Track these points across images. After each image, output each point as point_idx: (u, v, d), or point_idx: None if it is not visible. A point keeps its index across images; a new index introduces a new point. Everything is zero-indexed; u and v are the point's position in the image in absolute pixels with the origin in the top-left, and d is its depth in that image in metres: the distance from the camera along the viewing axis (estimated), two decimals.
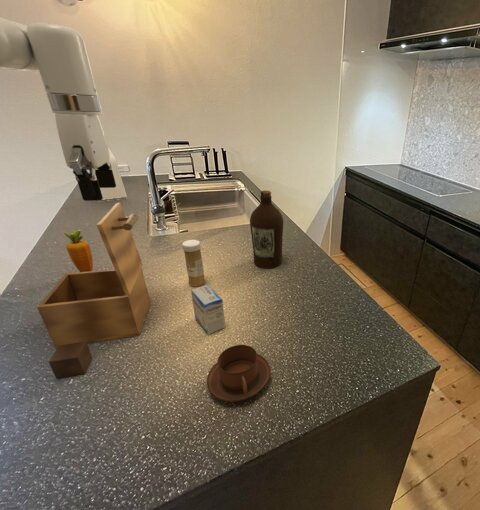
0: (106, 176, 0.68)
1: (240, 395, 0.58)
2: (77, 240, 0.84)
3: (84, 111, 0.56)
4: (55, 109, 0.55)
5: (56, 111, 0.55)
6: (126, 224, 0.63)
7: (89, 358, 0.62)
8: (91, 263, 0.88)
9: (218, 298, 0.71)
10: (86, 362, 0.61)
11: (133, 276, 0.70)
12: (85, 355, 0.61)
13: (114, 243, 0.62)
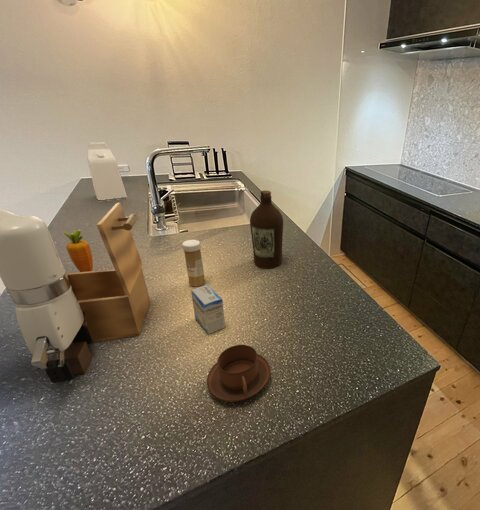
0: (81, 335, 0.63)
1: (240, 395, 0.58)
2: (77, 240, 0.84)
3: (48, 299, 0.51)
4: (16, 303, 0.50)
5: (17, 305, 0.50)
6: (126, 224, 0.63)
7: (89, 358, 0.62)
8: (91, 263, 0.88)
9: (218, 298, 0.71)
10: (86, 362, 0.61)
11: (133, 276, 0.70)
12: (85, 355, 0.61)
13: (114, 243, 0.62)
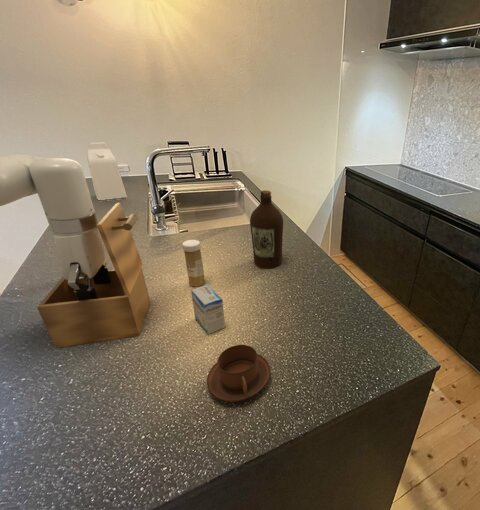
0: (101, 274, 0.72)
1: (240, 395, 0.58)
2: None
3: (81, 231, 0.61)
4: (54, 232, 0.59)
5: (55, 233, 0.59)
6: (126, 224, 0.63)
7: None
8: None
9: (218, 298, 0.71)
10: None
11: (133, 276, 0.70)
12: None
13: (114, 243, 0.62)
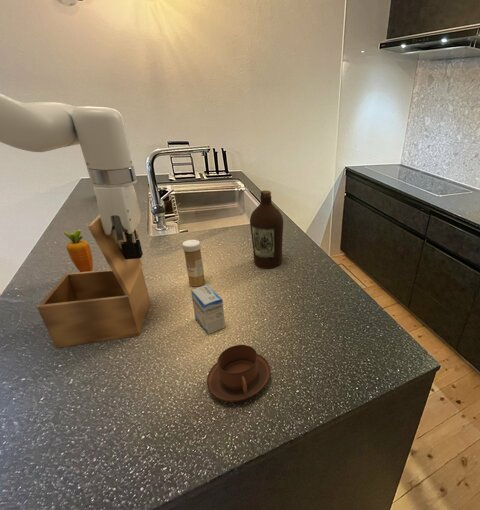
0: None
1: (240, 395, 0.58)
2: (77, 240, 0.84)
3: (121, 183, 0.59)
4: (95, 183, 0.58)
5: (96, 185, 0.58)
6: None
7: None
8: (91, 263, 0.88)
9: (218, 298, 0.71)
10: None
11: (133, 276, 0.70)
12: None
13: (108, 244, 0.62)
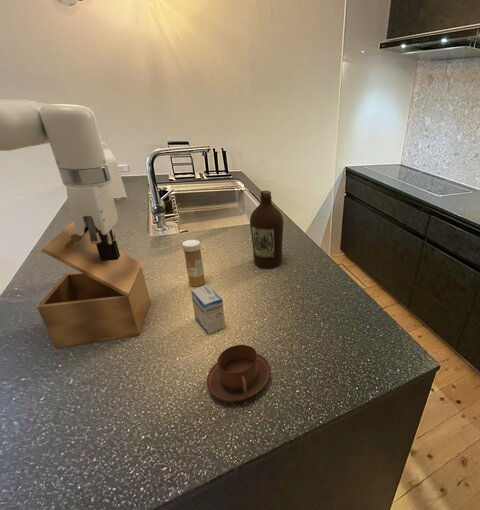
0: None
1: (240, 395, 0.58)
2: None
3: (94, 183, 0.58)
4: (66, 183, 0.56)
5: (67, 185, 0.56)
6: (72, 236, 0.60)
7: None
8: None
9: (218, 298, 0.71)
10: None
11: (129, 277, 0.69)
12: None
13: (77, 258, 0.61)
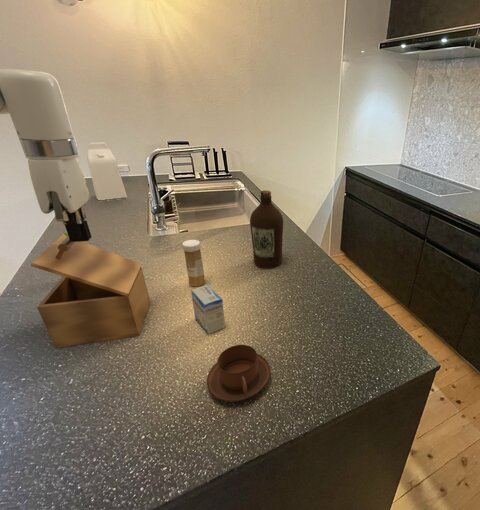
0: None
1: (240, 395, 0.58)
2: None
3: (59, 156, 0.54)
4: (28, 155, 0.53)
5: (29, 157, 0.53)
6: (59, 246, 0.60)
7: None
8: None
9: (218, 298, 0.71)
10: None
11: (128, 277, 0.69)
12: None
13: (70, 267, 0.62)
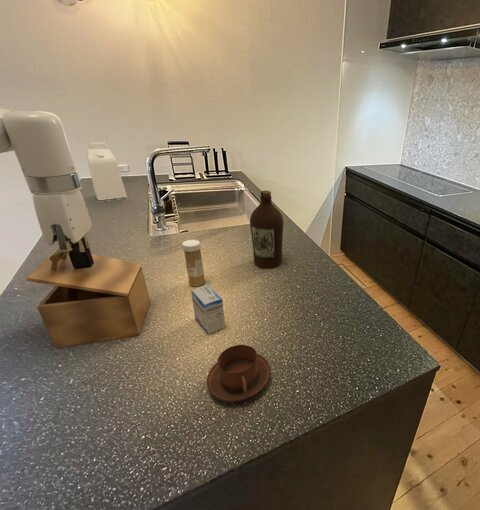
0: None
1: (240, 395, 0.58)
2: None
3: (62, 191, 0.57)
4: (33, 191, 0.55)
5: (34, 193, 0.55)
6: (51, 258, 0.61)
7: None
8: None
9: (218, 298, 0.71)
10: None
11: (127, 278, 0.69)
12: None
13: (66, 276, 0.62)
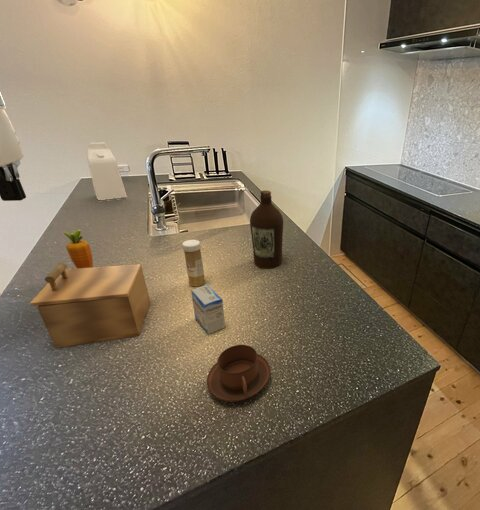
0: None
1: (240, 395, 0.58)
2: (77, 240, 0.84)
3: None
4: None
5: None
6: (46, 280, 0.62)
7: None
8: (91, 263, 0.88)
9: (218, 298, 0.71)
10: None
11: (126, 280, 0.70)
12: None
13: (67, 293, 0.64)
